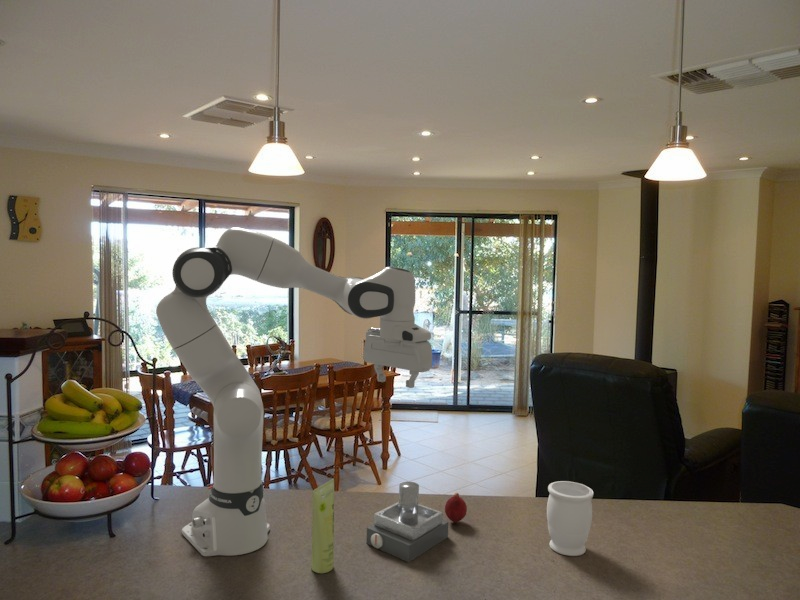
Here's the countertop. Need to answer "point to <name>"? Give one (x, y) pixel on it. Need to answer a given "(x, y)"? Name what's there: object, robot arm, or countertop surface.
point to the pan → (425, 523)
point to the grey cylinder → (408, 503)
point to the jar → (569, 516)
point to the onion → (455, 508)
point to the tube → (323, 528)
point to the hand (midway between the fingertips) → (395, 384)
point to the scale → (405, 541)
